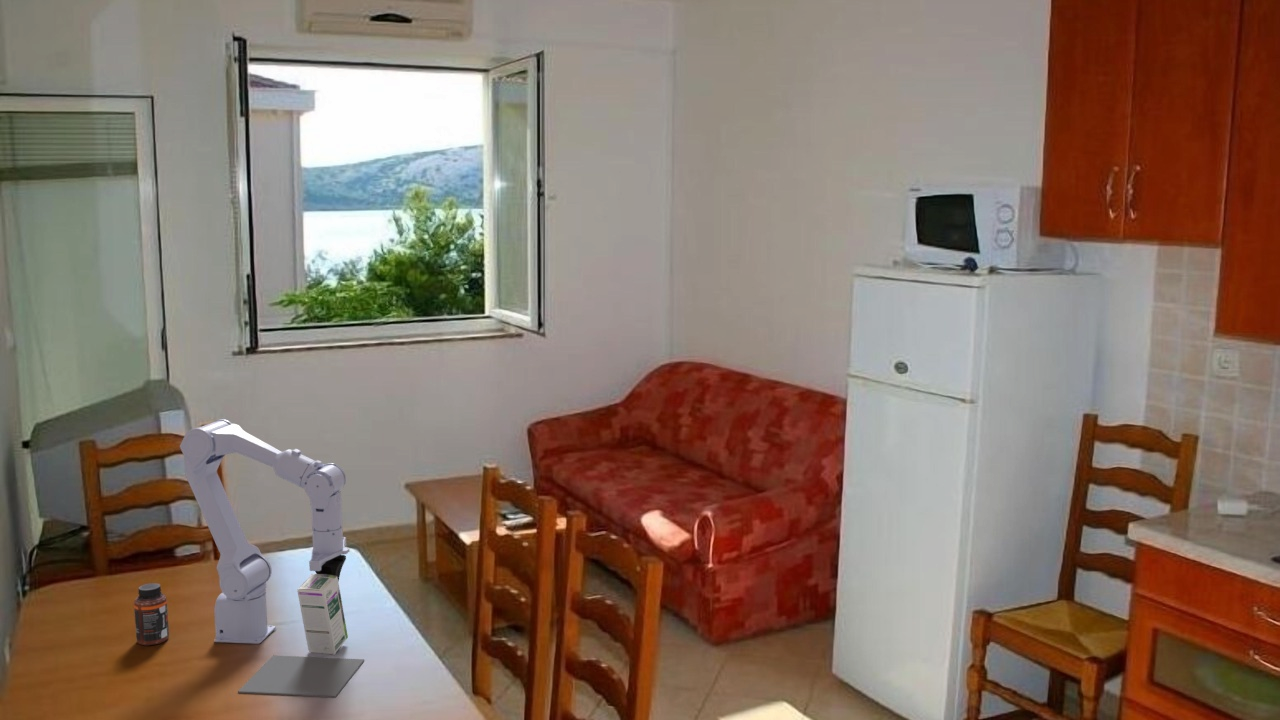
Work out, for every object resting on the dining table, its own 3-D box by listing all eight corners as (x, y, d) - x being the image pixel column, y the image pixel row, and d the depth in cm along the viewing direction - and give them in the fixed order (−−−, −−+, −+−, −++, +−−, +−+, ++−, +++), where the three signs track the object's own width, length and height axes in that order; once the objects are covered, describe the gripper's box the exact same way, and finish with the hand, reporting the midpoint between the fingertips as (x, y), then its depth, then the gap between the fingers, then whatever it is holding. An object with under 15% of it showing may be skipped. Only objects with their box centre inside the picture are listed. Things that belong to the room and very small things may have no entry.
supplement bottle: (174, 640, 213) (171, 586, 211) (144, 649, 209) (140, 594, 207) (161, 631, 217) (158, 578, 215) (131, 640, 213) (127, 586, 211)
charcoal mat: (237, 692, 191) (237, 691, 191) (273, 656, 206) (273, 655, 206) (335, 697, 189) (335, 695, 189) (364, 660, 204) (364, 659, 204)
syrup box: (335, 655, 206) (325, 590, 201) (307, 652, 208) (296, 588, 203) (348, 638, 212) (338, 574, 207) (321, 635, 213) (310, 572, 208)
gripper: (333, 539, 201) (336, 608, 203) (359, 516, 215) (362, 580, 217) (297, 538, 201) (300, 607, 203) (325, 515, 215) (328, 579, 218)
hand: (330, 593), depth 210 cm, fingers closed
